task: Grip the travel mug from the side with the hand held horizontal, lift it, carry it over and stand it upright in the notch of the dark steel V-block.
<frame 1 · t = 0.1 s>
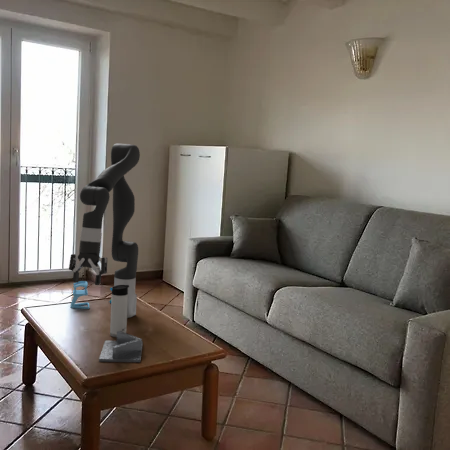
hand: (86, 283, 192), 22 cm above the table, tool pointing down, fingers open, 8 cm apart
chair: (79, 307, 238), on the table
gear: (117, 303, 249), on the table
v block: (119, 352, 187), on the table
travel mug: (118, 335, 205), on the table
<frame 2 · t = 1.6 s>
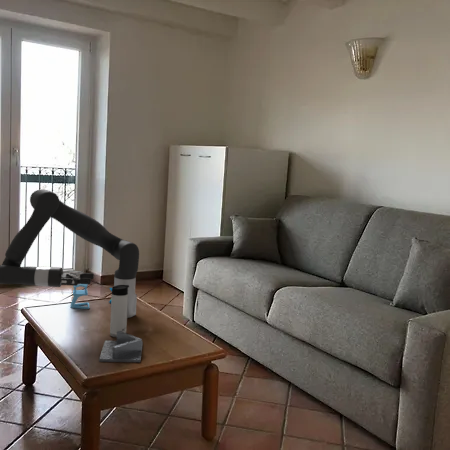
hand: (92, 278, 200), 22 cm above the table, tool horizontal, fingers open, 8 cm apart
nothing on the table moved.
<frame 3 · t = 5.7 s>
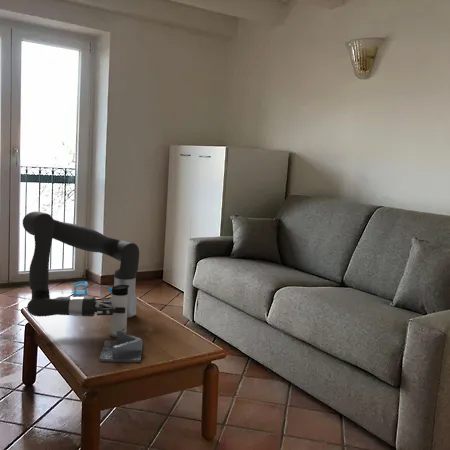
hand: (125, 307, 203), 11 cm above the table, tool horizontal, fingers closed on travel mug, 6 cm apart
travel mug: (118, 335, 205), on the table, touching gripper
everything else where it was.
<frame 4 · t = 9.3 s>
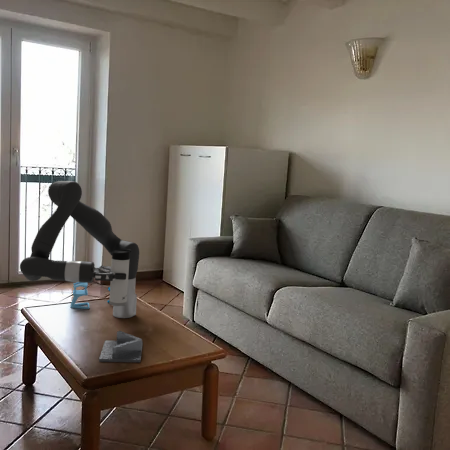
hand: (126, 274, 187), 28 cm above the table, tool horizontal, fingers closed on travel mug, 6 cm apart
travel mug: (118, 304, 188), point 17 cm above the table, touching gripper
everything else where it was.
when the fingers open (13 cm above the table, at t = 13.0 s): travel mug drops 1 cm, resting on v block.
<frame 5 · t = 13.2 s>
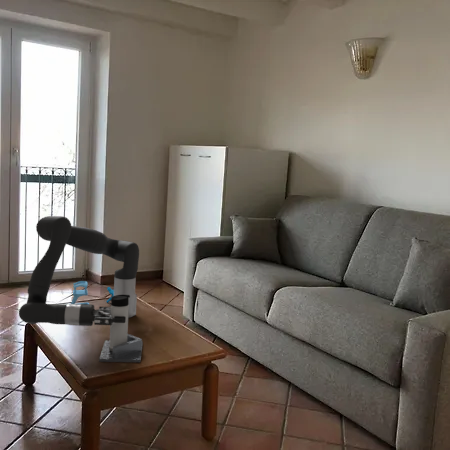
hand: (126, 316, 185), 13 cm above the table, tool horizontal, fingers open, 7 cm apart
travel mug: (118, 349, 186), point 1 cm above the table, touching v block
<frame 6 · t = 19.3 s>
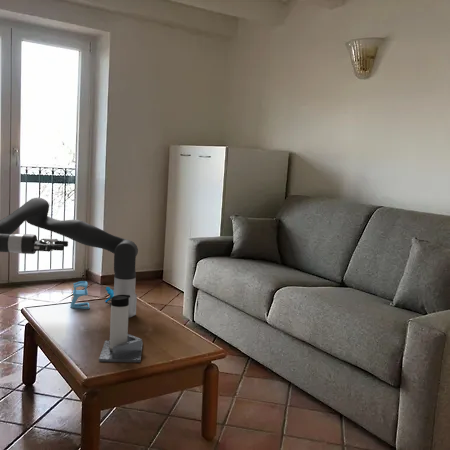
hand: (65, 245, 202), 34 cm above the table, tool horizontal, fingers open, 8 cm apart
at the end: travel mug 0.2 cm off-centre on the v block, point 0.8 cm above the v block's base; travel mug tilted 0°; the gripper is holding nothing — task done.
